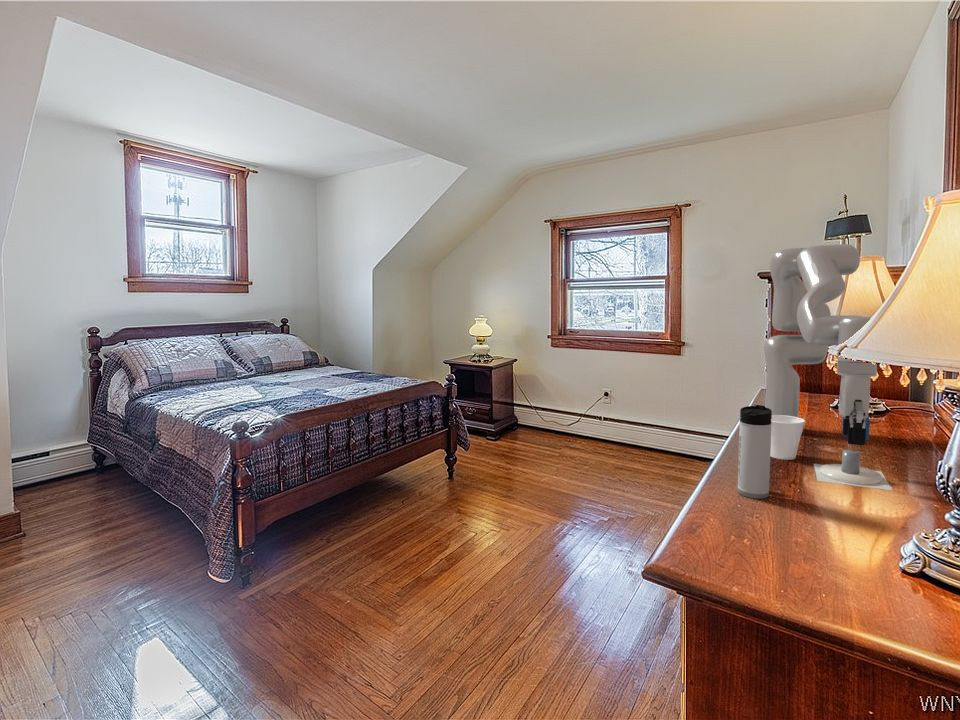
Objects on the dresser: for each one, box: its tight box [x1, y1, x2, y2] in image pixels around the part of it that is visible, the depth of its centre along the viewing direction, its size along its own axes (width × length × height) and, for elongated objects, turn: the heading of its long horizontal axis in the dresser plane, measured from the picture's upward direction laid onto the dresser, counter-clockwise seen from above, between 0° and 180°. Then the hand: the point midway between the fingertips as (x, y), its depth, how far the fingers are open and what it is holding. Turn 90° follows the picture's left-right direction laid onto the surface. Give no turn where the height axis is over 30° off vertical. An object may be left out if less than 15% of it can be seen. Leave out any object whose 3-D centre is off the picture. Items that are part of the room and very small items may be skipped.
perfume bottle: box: [841, 416, 871, 440], centre depth 156 cm, size 6×6×12 cm
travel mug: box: [737, 404, 772, 500], centre depth 112 cm, size 6×7×20 cm
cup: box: [770, 415, 806, 461], centre depth 137 cm, size 10×10×11 cm
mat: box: [813, 463, 894, 491], centre depth 121 cm, size 14×14×1 cm
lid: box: [820, 449, 882, 485], centre depth 121 cm, size 12×12×6 cm
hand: (853, 439), depth 119 cm, fingers open, 9 cm apart
